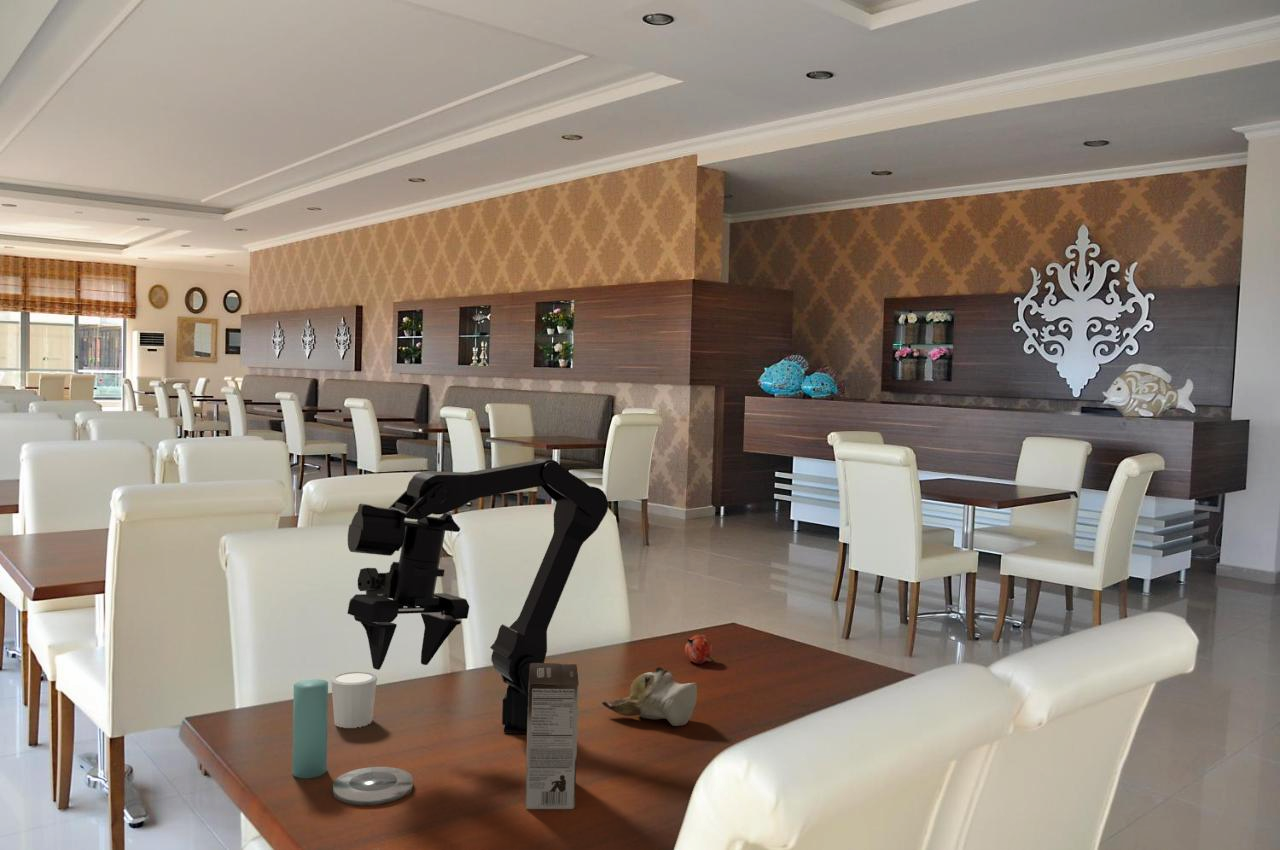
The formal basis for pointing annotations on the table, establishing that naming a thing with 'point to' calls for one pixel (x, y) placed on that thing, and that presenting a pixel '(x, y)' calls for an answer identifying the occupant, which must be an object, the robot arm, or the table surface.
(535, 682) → the coffee box
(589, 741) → the table surface
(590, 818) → the table surface
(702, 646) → the pomegranate
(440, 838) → the table surface
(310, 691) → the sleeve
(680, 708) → the ceramic sculpture
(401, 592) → the robot arm
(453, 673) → the table surface
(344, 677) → the white candle cup
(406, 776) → the hub disc
